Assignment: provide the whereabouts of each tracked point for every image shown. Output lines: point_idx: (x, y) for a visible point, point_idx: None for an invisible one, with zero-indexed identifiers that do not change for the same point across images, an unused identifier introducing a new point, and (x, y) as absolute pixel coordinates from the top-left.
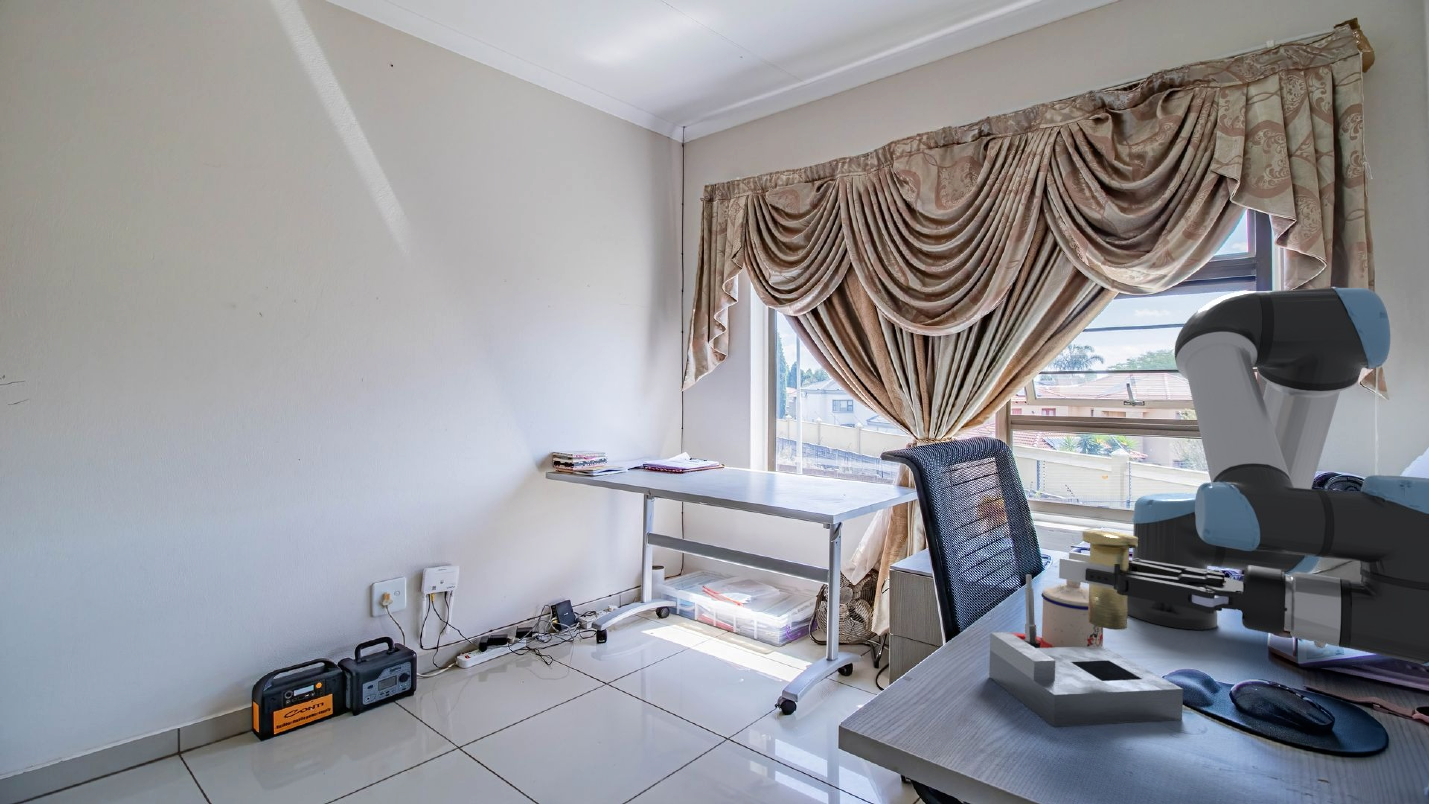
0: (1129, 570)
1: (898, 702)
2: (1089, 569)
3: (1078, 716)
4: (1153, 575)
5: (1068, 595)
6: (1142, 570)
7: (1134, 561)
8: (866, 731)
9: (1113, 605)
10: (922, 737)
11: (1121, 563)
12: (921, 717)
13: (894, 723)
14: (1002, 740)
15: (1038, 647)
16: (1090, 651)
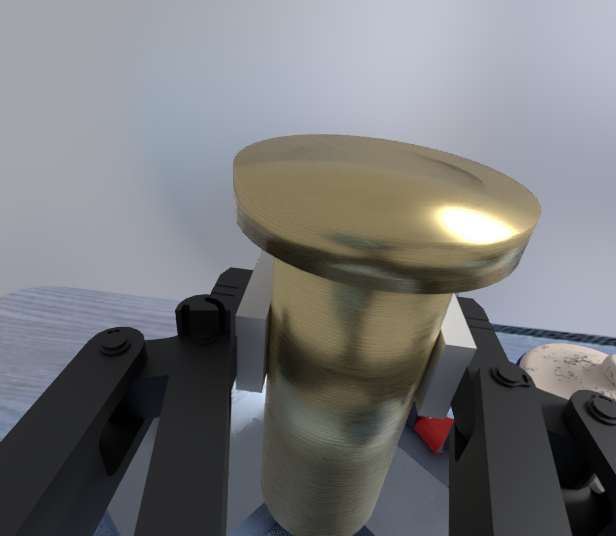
0: (467, 409)
1: (113, 305)
2: (242, 275)
3: (111, 525)
4: (173, 495)
5: (558, 382)
6: (474, 458)
7: (536, 398)
8: (14, 296)
9: (267, 442)
10: (6, 338)
11: (295, 324)
12: (73, 329)
13: (45, 311)
14: (13, 420)
15: (415, 413)
16: (422, 503)
